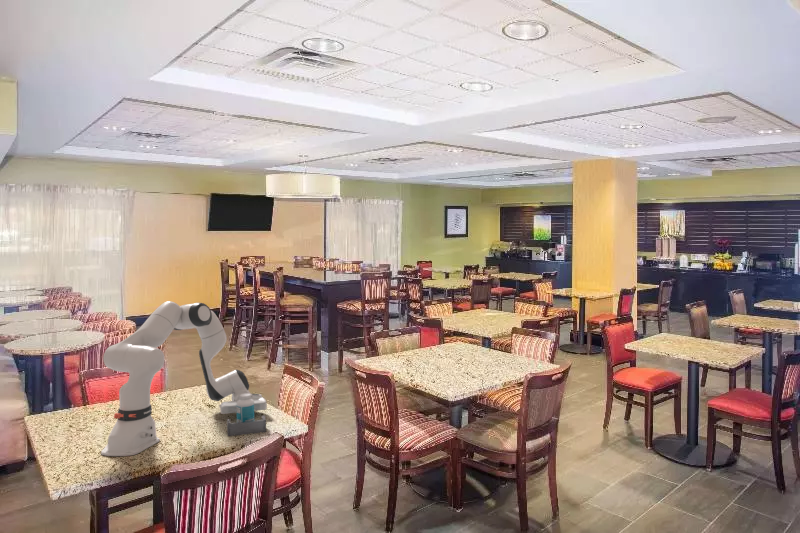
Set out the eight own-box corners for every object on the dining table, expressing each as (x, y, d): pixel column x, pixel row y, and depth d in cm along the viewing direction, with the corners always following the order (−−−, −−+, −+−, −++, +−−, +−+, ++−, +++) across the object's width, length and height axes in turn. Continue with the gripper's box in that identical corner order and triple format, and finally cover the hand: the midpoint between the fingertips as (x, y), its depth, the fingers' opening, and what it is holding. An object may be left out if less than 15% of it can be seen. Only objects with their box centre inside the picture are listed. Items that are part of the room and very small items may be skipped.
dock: (266, 431, 235) (266, 420, 235) (227, 436, 230) (227, 424, 230) (264, 426, 241) (264, 415, 241) (227, 430, 236) (227, 419, 236)
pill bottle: (257, 423, 246) (256, 392, 246) (250, 428, 239) (250, 397, 238) (240, 422, 247) (240, 392, 246) (233, 428, 240) (233, 396, 239)
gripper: (218, 397, 256) (219, 406, 243) (264, 393, 262) (267, 401, 249) (219, 411, 256) (220, 420, 243) (264, 407, 263) (268, 415, 250)
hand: (244, 411), depth 246 cm, fingers closed, pressing on pill bottle
